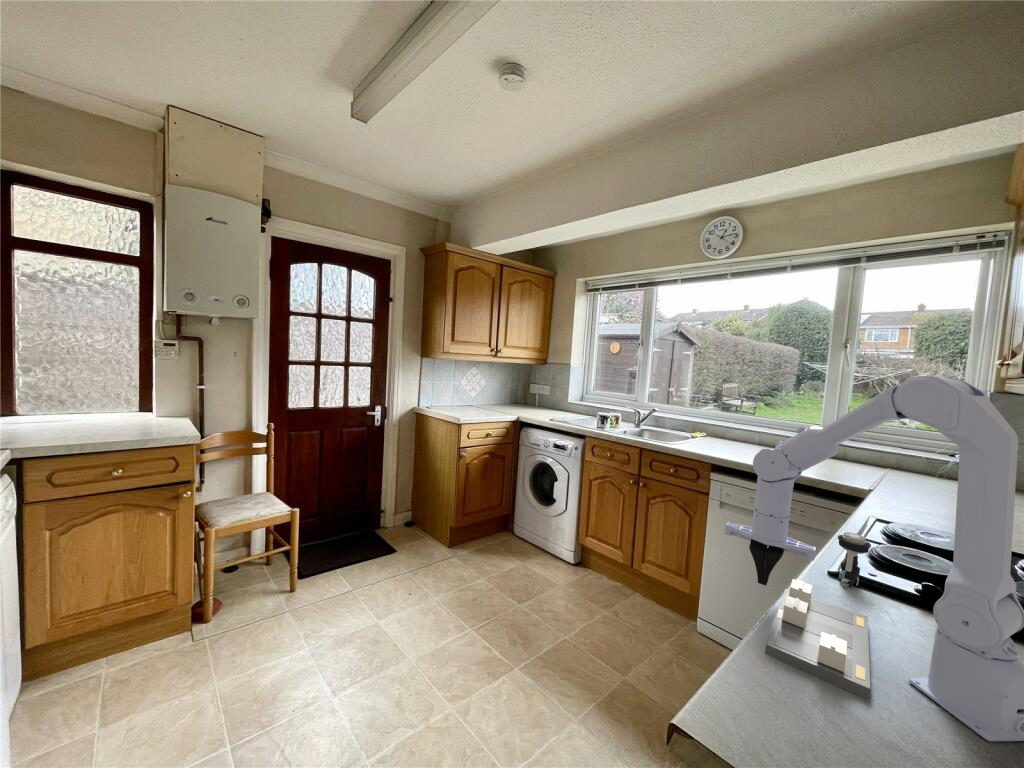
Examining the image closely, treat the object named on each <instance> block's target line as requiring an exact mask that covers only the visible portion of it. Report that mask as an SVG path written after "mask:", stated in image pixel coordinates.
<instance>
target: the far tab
mask: <svg viewBox="0 0 1024 768" xmlns="http://www.w3.org/2000/svg"><path fill="white" fill-rule="evenodd" d="M789 590H790V592H789V597H792V598H795V599H796V598H799V600H801V601H803V602H806V603H808V608H809V604H810V600H811V597H812V591H813V584H810V583H806V582H805V581H804V580H798V579H795V578H792V580H791V584H790V587H789Z"/></svg>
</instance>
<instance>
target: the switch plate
mask: <svg viewBox="0 0 1024 768" xmlns="http://www.w3.org/2000/svg"><path fill="white" fill-rule="evenodd" d="M789 592H790V588H789V589H788V588H785V589H784V592H783V593H782V594H783V595H782V596H781V600H780V603H779V606H778V609H777V611H776V615H775V618H774V620H773V623H772V626H771V629H770V632H769V635H768V638H767V639H766V643H765V648H764V655H767V656H770V657H772V658H774V659H776V660H778V661H781V662H783V663H785V664H787V665H789V666H792V667H794V668H796V669H799V670H800V671H803V672H805V673H808V674H811V675H812V676H814V677H817V678H819V679H822V680H823V679H824V680H823V681H826V682H828V683H831V684H833V685H835V686H837V687H839V688H842V689H844V690H847V691H849V692H850V693H853V694H855V695H857V696H860V697H862V698H864V699H867V700H869V699H870V695H871V694H870V693H871V675H870V671H871V670H870V652H869V651H870V647H869V646H870V645H869V624H868V622H869V621H868V620H869V619H868V616H866V615H864V614H861V613H858V612H855V611H852V610H849V609H846V608H843V607H841V606H838V605H834V604H831V603H830V602H826V601H824V600H821V599H818V598H814V597H812V596H811V600H810V604H809V608H808V610H807V618H806V622H805V627H804V628H802V627H799V626H797V625H794V624H792V623H789V622H786V621H784V620H782V618H783V610H784V604H785V601H786V598H787V596H789ZM821 632H824V633H827V634H829V635H832V634H833V635H836V637H837V638H840V639H842V640H845V641H847V653H846V662H845V669H844V672H842V671H839V670H837V669H835V668H832V667H830V666H828V665H825V664H823V663H821V662H818V661H817V660H818V653H819V645H820V639H821Z"/></svg>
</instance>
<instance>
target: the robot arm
mask: <svg viewBox="0 0 1024 768" xmlns="http://www.w3.org/2000/svg"><path fill="white" fill-rule="evenodd" d="M900 420H913V421H915V422H918V423H920V424H923V425H924V426H928V427H930V428H932V429H935V430H936V431H937V432H938V433H940V434H941V435H943V436H944V437H946V438H947V439H948V440H950V441H951V442H952V443H954V444H955V445H956V446H957V447H958V448H959V457H958V460H959V461H958V476H957V491H956V492H957V493H956V510H955V525H954V526H955V527H954V546H953V559H952V560H953V561H952V565H951V569H950V570H949V573H948V574H947V577H946V579H945V582H944V592H943V594H942V595H941V597H940V598H939V599H937V601H936V602H935V603H934V605H933V610H932V611H933V618H934V621H935V623H936V626H935V627H936V628H935V632H934V633H935V634H934V640H933V641H934V642H933V646H932V651H931V652H932V653H931V658H930V659H931V660H930V664H929V665H930V666H929V673H928V677H910V678H908V682H909V683H910V684H912V686H915V687H916V688H917V689H918V690H920V692H922V693H923V694H924V695H926V696H927V697H929V698H930V699H931V700H933V701H934V702H936V703H937V704H938V705H939V706H941V707H942V708H943V709H945V710H946V711H948V712H949V714H950V715H953V716H954V717H955V718H956V719H958V720H959V721H961V722H962V723H963V724H965V725H966V726H967V727H968V728H969V729H971V730H973V731H974V732H975V733H976V734H977V735H979V736H981V737H982V738H983V739H984V740H985V741H988V742H1024V663H1022V662H1021V660H1020V659H1019V658H1018V654H1019V652H1018V649H1017V648H1016V645H1015V642H1014V640H1013V639H1012V638H1011V636H1012V635H1014V634H1016V633H1019V632H1020V631H1022V629H1023V628H1024V607H1022V604H1021V603H1020V602H1019V599H1018V597H1017V584H1016V582H1015V580H1014V578H1013V577H1012V575H1011V567H1012V549H1013V536H1014V535H1013V533H1014V516H1015V503H1016V502H1015V499H1016V484H1017V482H1016V481H1017V467H1018V466H1017V465H1018V450H1019V438H1018V437H1019V436H1018V434H1017V432H1016V431H1015V430H1014V429H1013V427H1012V426H1011V425H1010V424H1009V422H1008V421H1007V420H1006V419H1005V418H1004V416H1003V415H1002V414H1001V413H1000V411H999V410H998V409H997V408H996V407H995V405H994V404H993V402H992V401H991V399H990V398H989V395H988V394H987V392H985V391H984V390H981V389H980V388H978V387H976V386H974V385H973V384H971V383H969V382H967V381H965V380H963V379H960V378H955V377H938V376H934V375H928V374H927V375H922V374H921V375H915V376H912V377H910V378H907V379H905V380H903V381H902V382H901V383H900V384H899V385H897V384H896V385H892V386H891V387H888V388H886V389H884V390H882V391H881V392H880V393H878V394H876V395H875V396H874V397H871V398H870V399H868V400H867V401H864V403H861V405H858V406H857V407H855V408H854V409H852V410H851V411H849V412H847V413H845V414H844V415H843V416H841V417H840V418H837V419H836V420H834V421H833V422H831V423H830V424H828V425H826V426H824V427H821V426H816V425H811V426H809V427H808V426H801V427H800V428H798V429H797V432H798V433H797V434H795V435H793V436H791V437H789V438H788V439H785V440H784V441H783V440H780V441H777V442H775V444H774V445H775V447H774V449H772V448H761V449H760V450H759V451H758V452H757V453H756V454H755V455H754V457H753V459H752V467H753V471H754V473H755V474H756V475H757V479H756V488H755V489H756V490H755V496H754V505H753V514H752V521H751V526H748V525H742V524H738V523H733V522H729V521H728V522H727V523H726V524H725V526H724V535H726V536H734V537H737V538H741V539H744V540H748V541H750V543H749V547H748V548H749V551H750V554H751V556H752V559H753V562H754V565H755V569H756V573H757V574H756V577H757V583H758V585H763V586H767V584H768V583H769V578H770V575H771V573H772V571H773V570H774V568H775V566H776V565H777V564H778V563H779V561H780V560H781V559H782V558H783V555H784V553H785V552H788V553H791V554H794V555H797V556H799V557H800V556H801V557H804V558H806V559H807V560H809V561H815V558H816V550H817V547H816V546H813V545H810V544H807V543H804V542H802V541H799V540H797V539H794V538H792V537H789V536H788V529H789V524H790V516H791V515H790V514H791V506H792V499H793V493H794V492H793V490H794V486H795V485H794V484H795V480H797V478H799V477H800V476H801V475H802V473H803V472H804V471H806V470H808V469H811V468H812V467H815V466H816V465H819V464H821V463H822V462H825V461H827V460H828V459H830V458H832V457H834V456H836V455H837V454H838V452H839V447H840V444H842V443H844V442H846V441H848V440H850V439H852V438H855V437H857V436H858V435H860V434H861V435H862V434H863V433H865V432H867V431H869V430H872V429H874V428H876V427H878V426H880V425H882V424H885V423H887V422H889V421H900Z"/></svg>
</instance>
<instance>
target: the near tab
mask: <svg viewBox="0 0 1024 768" xmlns="http://www.w3.org/2000/svg"><path fill="white" fill-rule="evenodd" d="M846 653H847V641H845V640H842V639H840V638H837V637H836V635H833V634H832V635H829V634H827V633H824V632H821V639H820V645H819V653H818V660H817V661H818V662H821V663H823V664H825V665H828V666H830V667H832V668H835V669H837V670H839V671H842V672H844V669H845V662H846Z"/></svg>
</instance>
